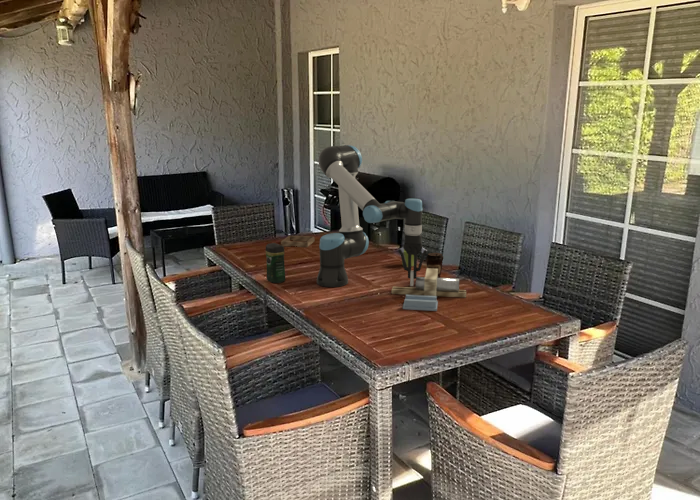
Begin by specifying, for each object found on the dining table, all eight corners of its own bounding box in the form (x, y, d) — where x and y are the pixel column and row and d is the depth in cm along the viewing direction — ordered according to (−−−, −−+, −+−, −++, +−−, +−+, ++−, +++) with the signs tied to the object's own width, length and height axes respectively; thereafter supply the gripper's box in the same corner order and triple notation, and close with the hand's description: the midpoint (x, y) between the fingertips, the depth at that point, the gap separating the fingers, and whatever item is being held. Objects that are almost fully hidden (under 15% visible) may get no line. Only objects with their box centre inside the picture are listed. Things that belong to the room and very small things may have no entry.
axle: (415, 291, 249) (415, 278, 248) (416, 287, 255) (416, 275, 254) (458, 293, 246) (459, 280, 245) (458, 290, 252) (459, 277, 250)
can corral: (281, 246, 347) (280, 241, 346) (289, 240, 363) (288, 235, 362) (307, 247, 344) (307, 242, 343) (314, 241, 360) (314, 236, 359)
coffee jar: (288, 281, 272) (286, 244, 268) (273, 284, 268) (271, 246, 264) (278, 277, 280) (277, 241, 276) (264, 279, 276) (262, 243, 271)
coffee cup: (442, 282, 268) (443, 256, 265) (424, 281, 270) (425, 255, 267) (443, 277, 277) (443, 252, 274) (426, 277, 278) (426, 251, 275)
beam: (389, 298, 246) (389, 277, 244) (394, 286, 263) (394, 266, 261) (466, 302, 240) (467, 281, 238) (465, 289, 257) (466, 269, 255)
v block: (402, 309, 232) (402, 301, 232) (404, 301, 242) (405, 293, 241) (436, 310, 230) (437, 302, 229) (437, 303, 239) (437, 295, 239)
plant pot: (396, 266, 297) (397, 251, 295) (402, 262, 306) (402, 247, 304) (414, 268, 294) (414, 252, 292) (418, 264, 303) (419, 248, 300)
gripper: (397, 235, 244) (396, 287, 249) (427, 236, 242) (425, 288, 247) (399, 231, 251) (398, 282, 257) (428, 232, 249) (426, 283, 254)
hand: (411, 285), depth 252 cm, fingers closed
